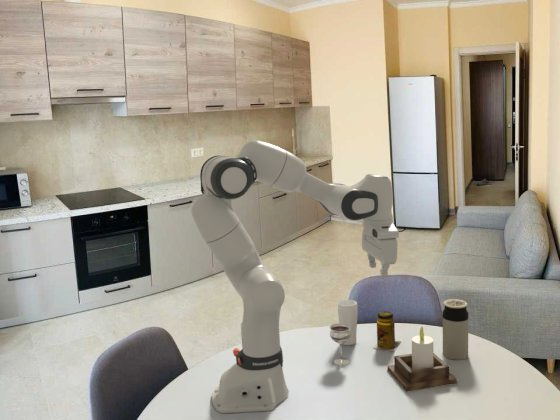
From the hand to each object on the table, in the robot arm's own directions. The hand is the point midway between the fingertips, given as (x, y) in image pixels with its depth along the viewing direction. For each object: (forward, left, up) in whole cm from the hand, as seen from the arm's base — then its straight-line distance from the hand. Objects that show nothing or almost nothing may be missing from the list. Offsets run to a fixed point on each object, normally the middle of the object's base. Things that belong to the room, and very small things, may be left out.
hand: (378, 271), depth 166 cm
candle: (+10, -9, -31) cm, 33 cm away
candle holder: (+9, -9, -32) cm, 34 cm away
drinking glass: (-4, +21, -32) cm, 38 cm away
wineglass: (-11, +8, -32) cm, 35 cm away
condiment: (+8, +15, -32) cm, 36 cm away
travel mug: (+26, +1, -32) cm, 42 cm away
